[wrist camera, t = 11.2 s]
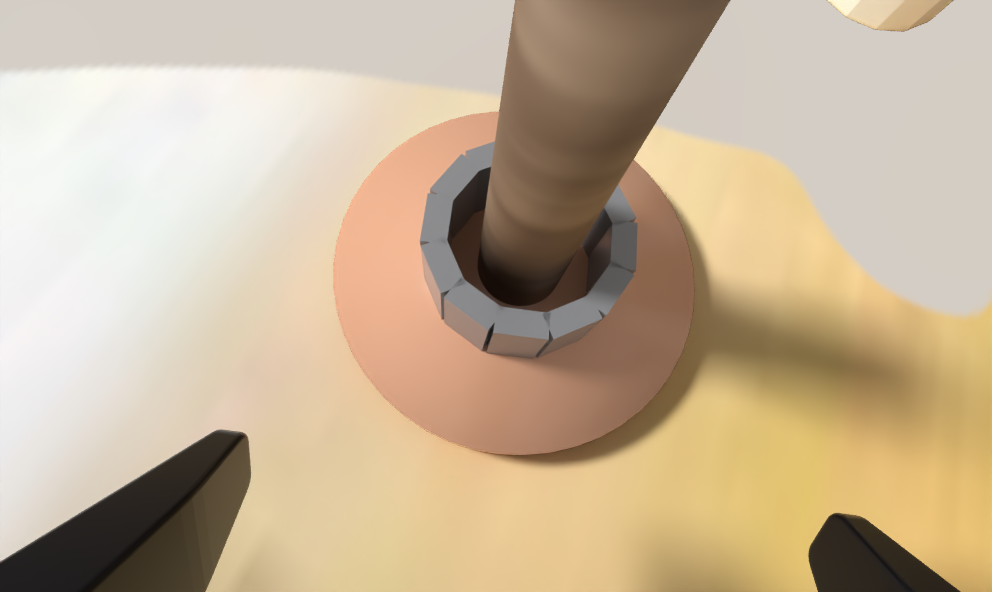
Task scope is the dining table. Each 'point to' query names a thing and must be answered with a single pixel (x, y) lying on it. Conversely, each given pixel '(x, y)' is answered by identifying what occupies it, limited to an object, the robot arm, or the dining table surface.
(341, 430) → the dining table surface
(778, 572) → the dining table surface
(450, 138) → the dowel holder
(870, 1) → the white cup
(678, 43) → the walnut dowel
